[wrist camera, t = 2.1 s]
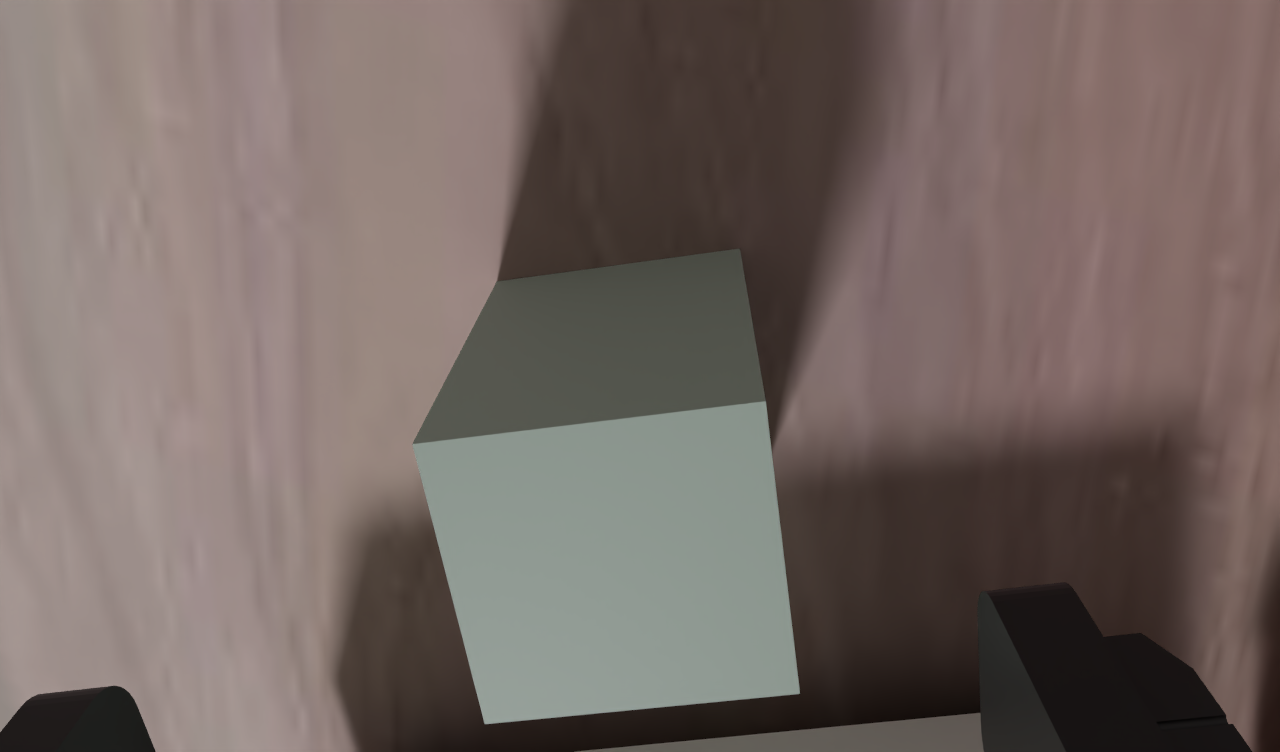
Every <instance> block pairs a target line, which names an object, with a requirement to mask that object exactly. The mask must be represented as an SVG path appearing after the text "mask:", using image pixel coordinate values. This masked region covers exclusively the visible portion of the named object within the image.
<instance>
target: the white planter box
mask: <svg viewBox="0 0 1280 752" xmlns="http://www.w3.org/2000/svg"><path fill="white" fill-rule="evenodd" d="M576 752H984V749H983V742H982V733H981V713H973V714H963V715H952V716H942V717H931V718H921V719H910V720H900V721H889V722H879V723H869V724H858V725H848V726H837V727H827V728H816V729H806V730H795V731H785V732H775V733H764V734H754V735H743V736H733V737H722V738H712V739H701V740H691V741H680V742H670V743H660V744H649V745H639V746H628V747H618V748H607V749H597V750H586V751H576Z"/></svg>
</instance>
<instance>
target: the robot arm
mask: <svg viewBox="0 0 1280 752" xmlns="http://www.w3.org/2000/svg"><path fill="white" fill-rule="evenodd" d="M978 646H979V679H980V712H981V733H982V742H983V749H984V752H1252V750H1251V749H1250V748H1249V746H1248V745H1247V743H1246V742H1245V741H1244V739H1243V738H1242V736H1241V735H1240V734H1239V732H1238V731H1237V729H1236V728H1235V727H1234V725H1233V724H1228V722H1227V719H1226V714H1225V713H1224V711H1223V710H1222V709H1221V707H1220V706H1219V704H1218V703H1217V702H1216V700H1215V699H1214V697H1213V696H1212V695H1211V693H1210V692H1209V690H1208V689H1207V688H1206V686H1205V685H1204V683H1203V682H1202V681H1201V679H1200V678H1199V676H1198V675H1197V674H1196V672H1195V671H1194V669H1193V668H1191V667H1190V666H1188V665H1187V664H1185V663H1184V662H1182V661H1181V660H1179V659H1178V658H1176V657H1175V656H1174V655H1172V654H1171V653H1169V652H1168V651H1166V650H1165V649H1163V648H1162V647H1160V646H1159V645H1158V644H1156V643H1155V642H1153V641H1152V640H1150V639H1149V638H1147V637H1146V636H1144V635H1143V634H1142V633H1137V634H1128V635H1119V636H1109V637H1103V636H1102V634H1101V632H1100V631H1099V629H1098V628H1097V626H1096V624H1095V623H1094V621H1093V620H1092V618H1091V616H1090V615H1089V613H1088V612H1087V610H1086V608H1085V607H1084V605H1083V604H1082V602H1081V600H1080V599H1079V597H1078V595H1077V594H1076V592H1075V591H1074V590H1073V588H1072V587H1071V586H1070V585H1069V584H1067V583H1065V582H1064V583H1054V584H1045V585H1036V586H1027V587H1018V588H1010V589H1001V590H992V591H983V592H981V593H980V596H979V600H978ZM0 752H155V749H154V747H153V744H152V742H151V739H150V737H149V734H148V732H147V729H146V727H145V724H144V722H143V719H142V717H141V714H140V712H139V709H138V707H137V705H136V703H135V701H134V699H133V697H132V696H131V695H130V693H129V692H127V691H126V690H125V689H123V688H122V687H118V686H109V687H100V688H91V689H82V690H73V691H64V692H55V693H46V694H38V695H36V696H34V697H32V698H30V699H29V700H27V701H26V702H25V703H24V704H23V705H22V706H21V708H20V709H19V710H18V711H17V712H16V714H15V715H14V716H13V717H12V719H11V720H10V721H9V722H8V724H7V725H6V726H5V727H4V728H3V730H2V731H1V732H0Z"/></svg>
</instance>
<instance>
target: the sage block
mask: <svg viewBox="0 0 1280 752" xmlns="http://www.w3.org/2000/svg"><path fill="white" fill-rule="evenodd" d="M412 445H413V449H414V453H415V456H416V460H417V464H418V468H419V472H420V476H421V480H422V484H423V487H424V491H425V495H426V499H427V503H428V507H429V511H430V514H431V518H432V522H433V526H434V530H435V534H436V538H437V542H438V545H439V549H440V553H441V557H442V561H443V565H444V569H445V573H446V576H447V580H448V584H449V588H450V592H451V596H452V600H453V604H454V607H455V611H456V615H457V619H458V623H459V627H460V631H461V634H462V638H463V642H464V646H465V650H466V654H467V658H468V662H469V665H470V669H471V673H472V677H473V681H474V685H475V689H476V693H477V696H478V700H479V704H480V708H481V712H482V716H483V720H484V724H493V723H503V722H514V721H524V720H534V719H545V718H555V717H565V716H576V715H586V714H596V713H607V712H617V711H628V710H638V709H648V708H659V707H669V706H679V705H690V704H700V703H711V702H721V701H731V700H742V699H752V698H762V697H773V696H783V695H794V694H800V689H799V681H798V672H797V664H796V655H795V647H794V638H793V629H792V621H791V612H790V604H789V595H788V587H787V578H786V570H785V561H784V553H783V544H782V536H781V527H780V519H779V510H778V502H777V493H776V484H775V476H774V467H773V459H772V450H771V442H770V433H769V425H768V416H767V408H766V400H765V394H764V388H763V382H762V376H761V370H760V364H759V358H758V353H757V347H756V341H755V335H754V329H753V323H752V317H751V311H750V305H749V299H748V293H747V288H746V282H745V276H744V270H743V264H742V258H741V252H740V249H733V250H726V251H718V252H711V253H703V254H696V255H689V256H681V257H674V258H666V259H659V260H652V261H644V262H637V263H630V264H622V265H615V266H607V267H600V268H593V269H585V270H578V271H571V272H563V273H556V274H548V275H541V276H534V277H526V278H519V279H512V280H504V281H497V282H496V284H495V286H494V288H493V290H492V292H491V294H490V296H489V298H488V300H487V302H486V304H485V306H484V307H483V309H482V311H481V313H480V315H479V317H478V319H477V321H476V323H475V325H474V327H473V329H472V331H471V332H470V334H469V336H468V338H467V340H466V342H465V344H464V346H463V348H462V350H461V352H460V354H459V356H458V357H457V359H456V361H455V363H454V365H453V367H452V369H451V371H450V373H449V375H448V377H447V379H446V381H445V382H444V384H443V386H442V388H441V390H440V392H439V394H438V396H437V398H436V400H435V402H434V404H433V406H432V407H431V409H430V411H429V413H428V415H427V417H426V419H425V421H424V423H423V425H422V427H421V429H420V431H419V432H418V434H417V436H416V438H415V440H414V442H413V444H412Z"/></svg>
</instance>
